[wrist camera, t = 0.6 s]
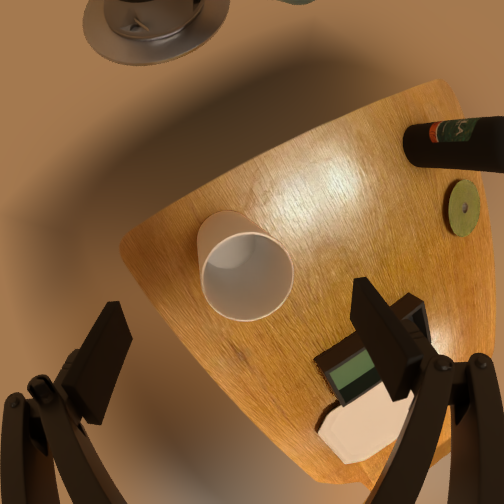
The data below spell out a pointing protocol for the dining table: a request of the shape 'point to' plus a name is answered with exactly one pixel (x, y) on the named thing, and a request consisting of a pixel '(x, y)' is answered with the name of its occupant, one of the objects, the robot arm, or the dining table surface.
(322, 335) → the dining table surface
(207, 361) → the dining table surface
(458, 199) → the mat
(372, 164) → the dining table surface
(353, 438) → the plate
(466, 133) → the wine bottle
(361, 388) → the holder
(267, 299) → the cup
